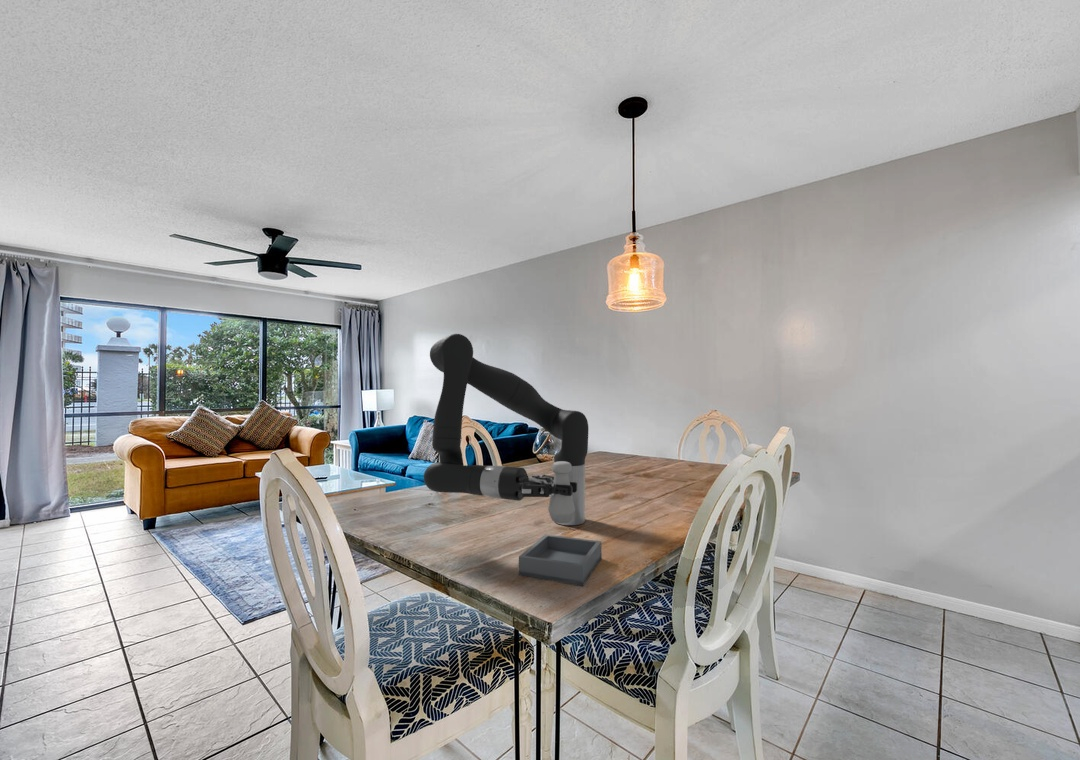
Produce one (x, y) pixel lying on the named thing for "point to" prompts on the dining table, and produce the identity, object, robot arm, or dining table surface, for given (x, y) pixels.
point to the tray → (560, 559)
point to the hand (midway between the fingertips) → (574, 489)
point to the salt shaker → (560, 504)
